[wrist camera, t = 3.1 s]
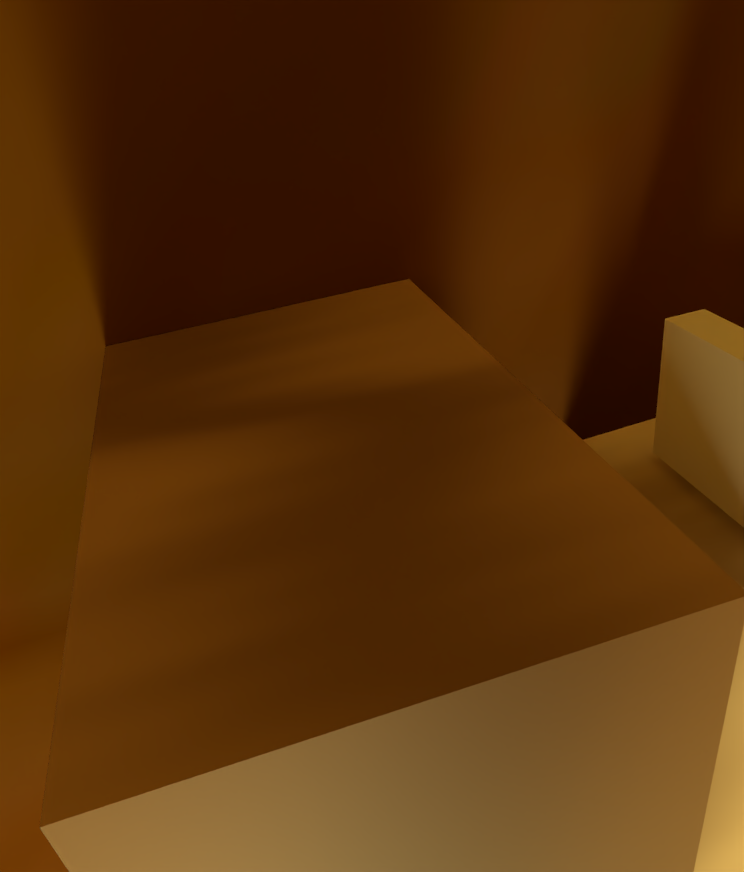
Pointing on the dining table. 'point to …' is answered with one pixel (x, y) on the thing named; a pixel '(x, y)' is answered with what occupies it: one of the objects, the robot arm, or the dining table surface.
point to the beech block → (740, 558)
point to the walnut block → (374, 616)
